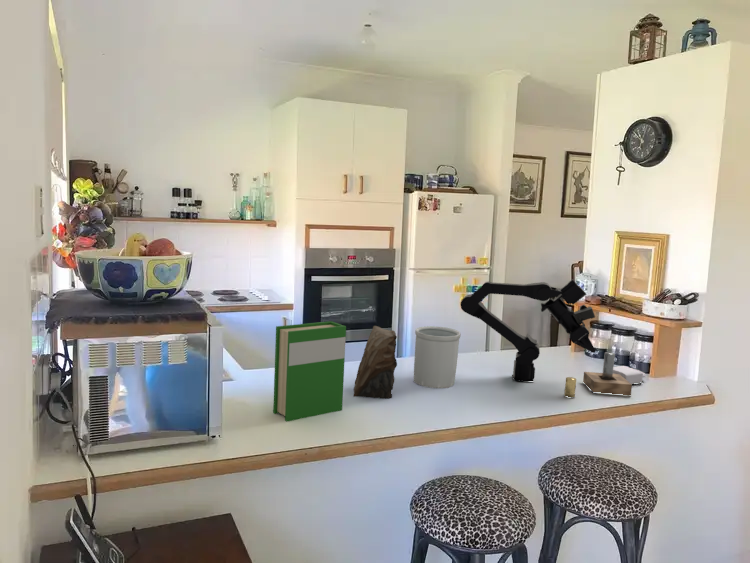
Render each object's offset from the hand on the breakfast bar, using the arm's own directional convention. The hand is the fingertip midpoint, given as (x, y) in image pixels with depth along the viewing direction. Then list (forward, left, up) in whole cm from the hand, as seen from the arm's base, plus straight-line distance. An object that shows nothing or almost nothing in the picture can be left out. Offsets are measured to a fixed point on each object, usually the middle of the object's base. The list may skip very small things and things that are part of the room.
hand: (593, 348), depth 199 cm
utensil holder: (-53, -7, -14) cm, 55 cm away
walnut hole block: (+5, -1, -13) cm, 15 cm away
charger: (+17, +12, -14) cm, 25 cm away
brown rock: (-73, -23, -14) cm, 77 cm away
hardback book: (-89, -43, -14) cm, 99 cm away
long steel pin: (+5, -1, -13) cm, 15 cm away
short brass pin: (-10, -12, -13) cm, 20 cm away
